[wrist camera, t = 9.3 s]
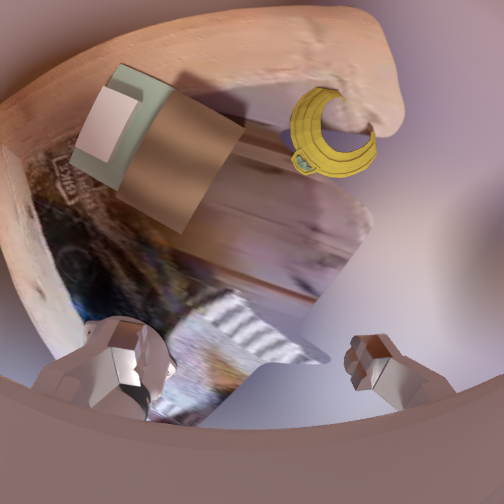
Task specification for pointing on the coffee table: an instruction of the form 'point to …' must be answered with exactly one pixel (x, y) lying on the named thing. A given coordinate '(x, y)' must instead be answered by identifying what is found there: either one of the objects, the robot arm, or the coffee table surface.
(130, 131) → the mat
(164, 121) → the wooden block
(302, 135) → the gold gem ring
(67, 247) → the coffee table surface
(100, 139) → the tile
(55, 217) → the coffee table surface
